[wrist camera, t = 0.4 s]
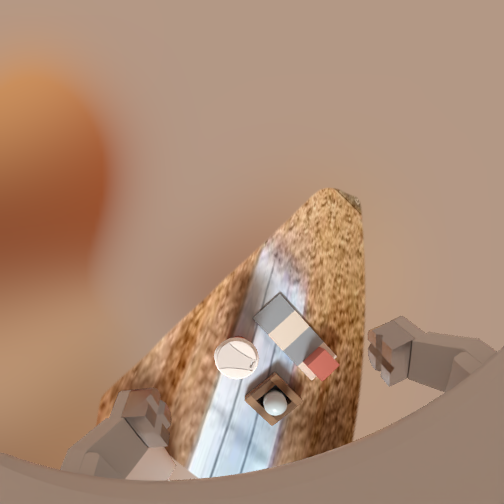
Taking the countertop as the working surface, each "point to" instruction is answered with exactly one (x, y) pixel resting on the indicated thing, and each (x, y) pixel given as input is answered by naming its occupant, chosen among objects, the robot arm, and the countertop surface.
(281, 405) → the dome
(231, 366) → the paper cup
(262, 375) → the countertop surface
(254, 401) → the button box
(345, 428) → the countertop surface
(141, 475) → the milk
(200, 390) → the countertop surface
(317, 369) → the red block
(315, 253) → the countertop surface
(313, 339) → the track
